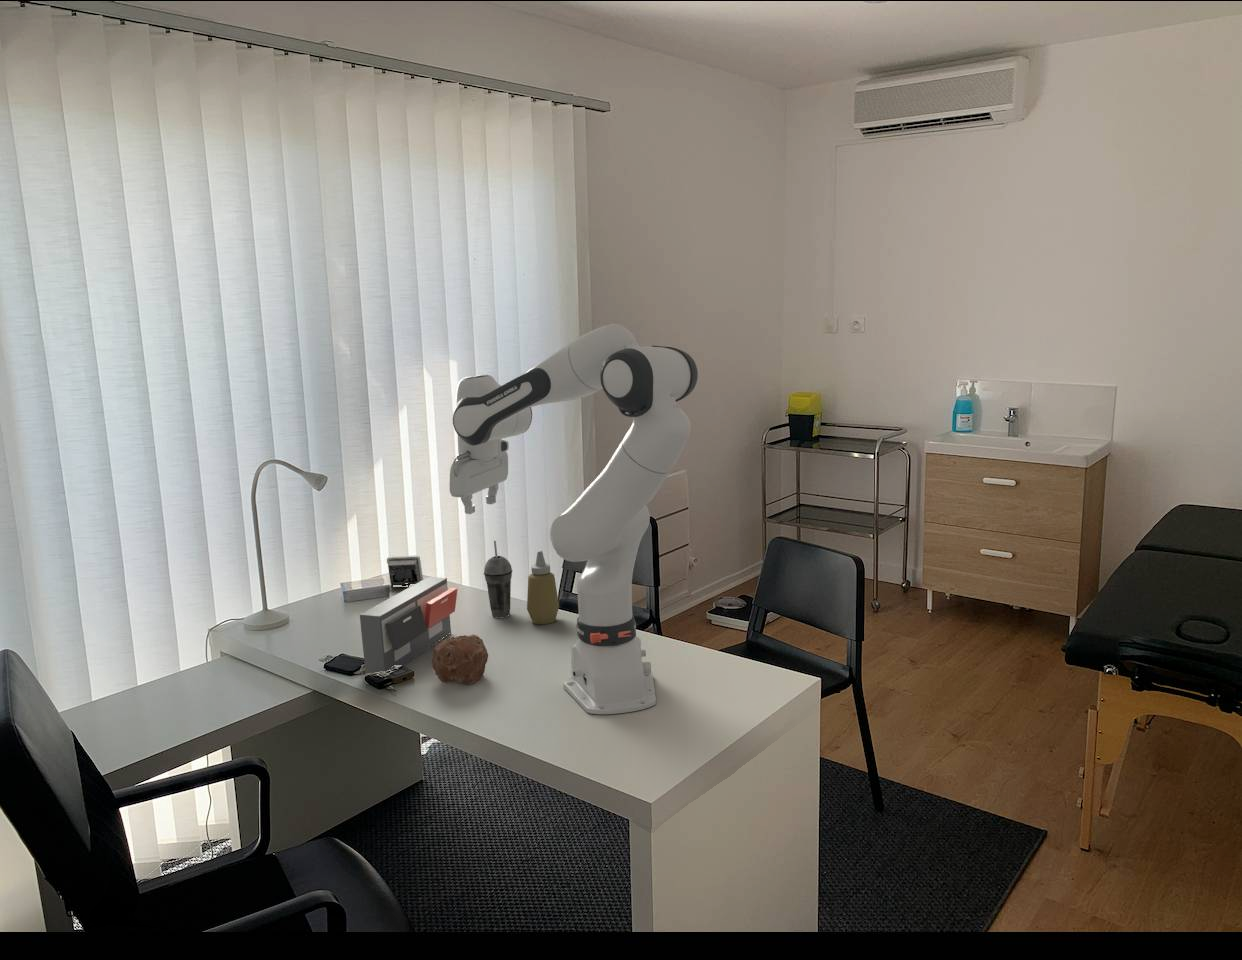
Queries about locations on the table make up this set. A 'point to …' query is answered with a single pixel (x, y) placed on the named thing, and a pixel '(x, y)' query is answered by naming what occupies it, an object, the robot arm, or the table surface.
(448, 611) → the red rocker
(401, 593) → the switch panel
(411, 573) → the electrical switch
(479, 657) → the decorative rock
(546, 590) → the squeeze bottle
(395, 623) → the panel
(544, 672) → the table surface
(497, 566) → the beverage cup
